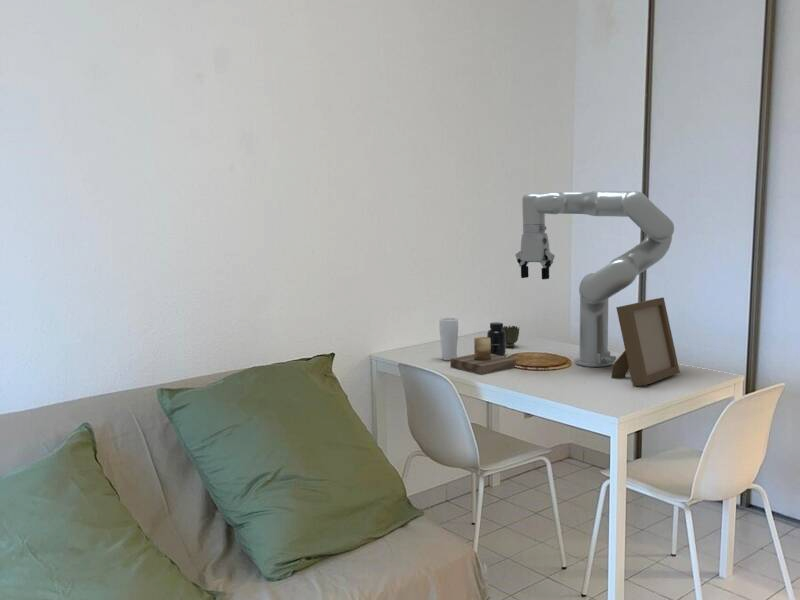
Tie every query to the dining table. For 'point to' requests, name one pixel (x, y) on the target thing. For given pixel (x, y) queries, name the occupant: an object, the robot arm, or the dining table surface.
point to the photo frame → (645, 343)
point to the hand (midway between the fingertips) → (535, 278)
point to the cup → (511, 335)
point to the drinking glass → (449, 337)
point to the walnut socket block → (483, 364)
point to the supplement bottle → (497, 338)
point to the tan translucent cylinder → (482, 348)
